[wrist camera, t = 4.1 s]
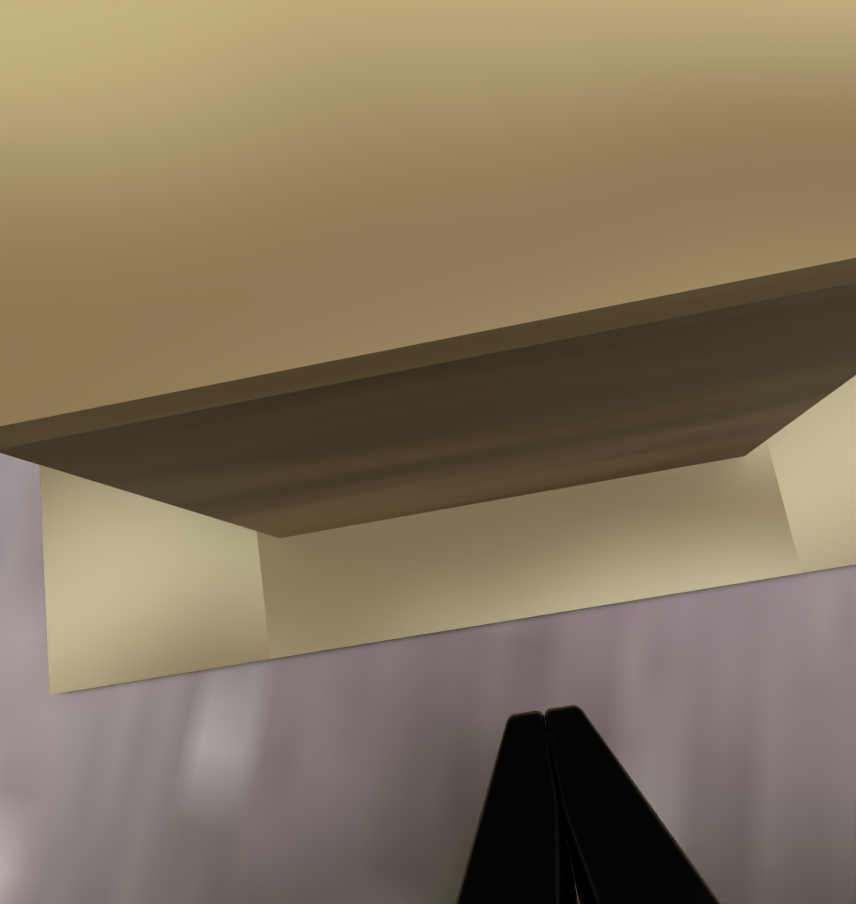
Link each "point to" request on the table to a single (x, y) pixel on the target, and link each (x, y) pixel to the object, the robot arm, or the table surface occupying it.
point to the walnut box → (417, 244)
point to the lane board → (429, 558)
